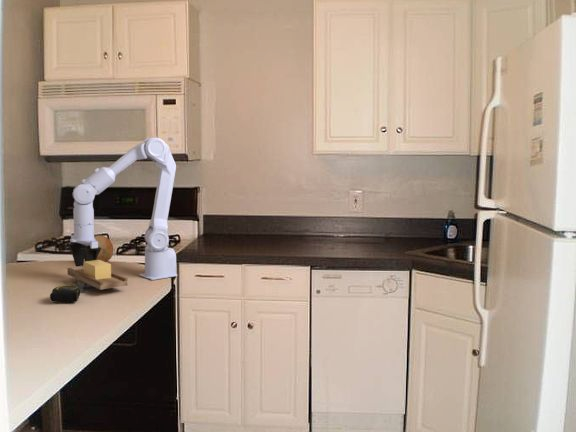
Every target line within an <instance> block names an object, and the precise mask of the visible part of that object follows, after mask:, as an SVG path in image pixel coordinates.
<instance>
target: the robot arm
mask: <svg viewBox="0 0 576 432" xmlns="http://www.w3.org/2000/svg"><path fill="white" fill-rule="evenodd" d="M144 159H150V160H151V161H153V163H154V164H155V166H156V167H157V168H158V170H159V171H158V172H159V173H158V179H157V184H156V190H155V197H154V202H153V203H154V204H153V208H152V214H151V219H150V221H149V225H148V227H147V229H146V231H145V233H144V240H145V242H146V243H147V244H146V246H145V247H144V273H139V277H140V276H141V277H143V278H146V279H148V280H150V281H155V280H156V281H157V280H162V279H167V278H173V277H178V274H177V253H176V251H175V249H174V248H173V247H169V246H168V245H169V242H170V239H169V238H170V237H169V234H168V229H169V226H168V218H169V212H170V206H171V200H172V194H173V189H174V183H175V177H176V171H177V165H176V162H175V160H174V157H173V153H171V148H170V146H169V145H168V144H167V142H165V141H164V140H163V139H162V138H159V137H148V138H146V139H145V140H143V142H140V143H138V144H136V145H135V146H133V147H132V148H131V149H129V150H128V151H127V152H126V153H124V154H123V155H122V156H120V157H119V158H118V159H117V160H116V161H114V162H113V163H112V164H111V165H110V166H108V167H105V166H103V167H102V166H101V167H100V168H98V167H97V168H95V169H94V170H93V171H94V172H93V173H92V174H91V175H90V176H88V177H87V178H86V179H85V178H83V179H82V180H81V182H82V183H81V184H80V183H79V184H77V185H76V186H75V187H74V188H73V190H72V191H73V192H71V193H72V194H71V195H72V198H73V199H74V202H73V211H72V212H73V234H71V235H70V239H69V242H70V243H68V244H67V247H68V248H69V250H70V252H71V255H72V257H73V261H74V266H75V267H76V268H77V267H82V266H83V267H84V262H85V261H93V260H96V259H97V256H98V254H99V252H100V251H101V248H100V247H98V241H96V239H95V238H94V236H95V223H94V222H95V213H94V212H95V210H94V205H93V204H94V200H95V197H96V196H98V195H100V194H101V193H103V192H104V191H105V190H106V189H107V188H109V187H110V186H111V185H112V184H114V183H115V182H116V176H117V175H118V174H119V173H121V172H123V171H124V170H125V169H126V168H128V167H129V166H130V165H132V164H133V163H135V162H136V161H137V160H138V161H140V160H144Z"/></svg>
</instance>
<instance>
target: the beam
mask: <svg viewBox="0 0 576 432" xmlns="http://www.w3.org/2000/svg"><path fill="white" fill-rule="evenodd" d="M67 276H70V277H72V278H73V279H76V280H77V281H83V282H85V283H87V286H94V287H96V288H98V289H100V290H107V289H113V288H119V287H125V286H128V277H125V276H122V275H120V274H117V273H115V272H113V271H111V278H105V279H98V280H97V279H95V278H92V277H90V276H88V275H86V274H84V268H78V269H74V268H72V267H67ZM100 290H99V291H100Z"/></svg>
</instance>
